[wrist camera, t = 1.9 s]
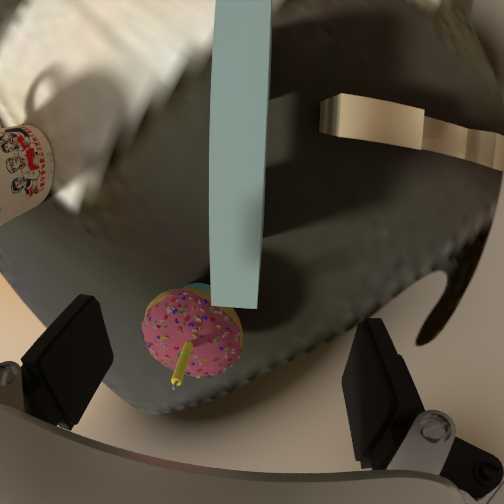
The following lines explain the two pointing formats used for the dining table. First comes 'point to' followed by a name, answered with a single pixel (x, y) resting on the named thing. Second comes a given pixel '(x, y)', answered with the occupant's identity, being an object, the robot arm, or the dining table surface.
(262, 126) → the teal slotted plate
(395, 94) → the dining table surface
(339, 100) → the birch slotted plate
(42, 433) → the robot arm
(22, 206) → the teacup with lid
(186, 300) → the cupcake
